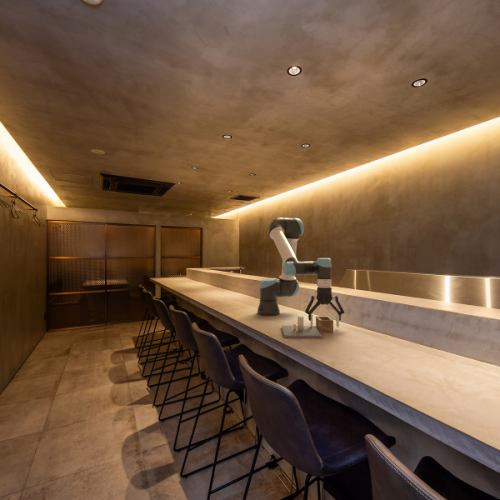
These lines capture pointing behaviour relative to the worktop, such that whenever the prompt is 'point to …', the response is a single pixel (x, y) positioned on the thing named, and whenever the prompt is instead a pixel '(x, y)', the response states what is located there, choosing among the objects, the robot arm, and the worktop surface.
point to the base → (302, 333)
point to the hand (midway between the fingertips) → (324, 326)
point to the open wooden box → (324, 324)
